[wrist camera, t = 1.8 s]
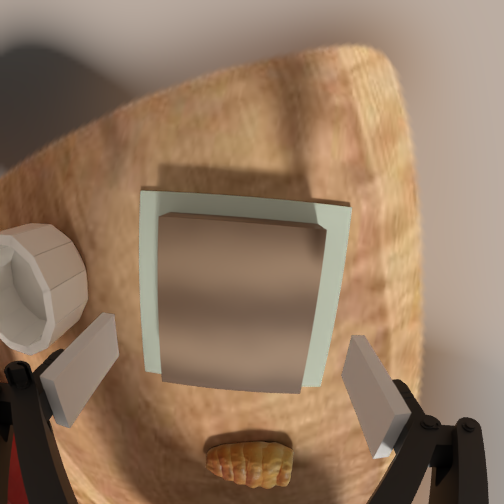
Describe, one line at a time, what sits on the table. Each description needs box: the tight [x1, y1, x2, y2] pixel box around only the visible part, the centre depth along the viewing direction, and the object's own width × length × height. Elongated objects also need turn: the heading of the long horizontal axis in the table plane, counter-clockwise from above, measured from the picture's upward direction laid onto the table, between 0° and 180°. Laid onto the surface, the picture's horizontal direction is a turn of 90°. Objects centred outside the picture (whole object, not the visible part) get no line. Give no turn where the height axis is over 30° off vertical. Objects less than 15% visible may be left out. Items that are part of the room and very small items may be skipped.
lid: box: [157, 212, 327, 394], centre depth 23 cm, size 13×11×3 cm
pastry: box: [206, 441, 294, 489], centre depth 27 cm, size 9×7×4 cm
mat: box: [139, 191, 352, 387], centre depth 24 cm, size 16×16×1 cm
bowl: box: [0, 223, 88, 356], centre depth 21 cm, size 10×10×6 cm
